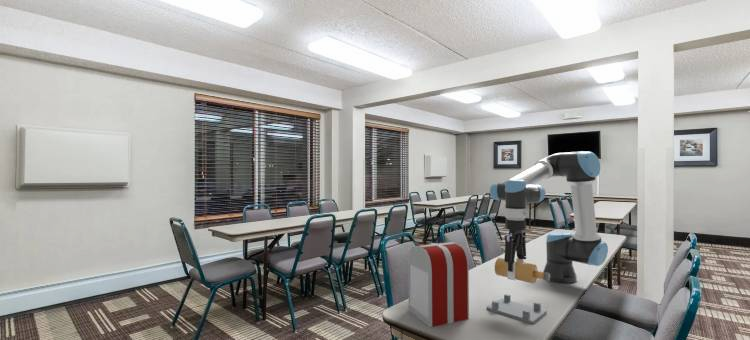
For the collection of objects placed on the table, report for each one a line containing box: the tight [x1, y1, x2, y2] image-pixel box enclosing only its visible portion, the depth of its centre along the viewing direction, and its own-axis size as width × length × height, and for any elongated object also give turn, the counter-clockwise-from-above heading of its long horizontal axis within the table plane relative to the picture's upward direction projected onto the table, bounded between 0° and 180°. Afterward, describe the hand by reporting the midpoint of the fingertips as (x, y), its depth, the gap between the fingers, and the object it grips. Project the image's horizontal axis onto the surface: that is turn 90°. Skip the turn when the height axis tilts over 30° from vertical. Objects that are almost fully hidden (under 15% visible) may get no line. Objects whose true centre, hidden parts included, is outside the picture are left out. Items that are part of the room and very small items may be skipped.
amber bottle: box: [494, 257, 551, 284], centre depth 129 cm, size 19×7×7 cm, turn 44°
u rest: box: [486, 293, 548, 325], centre depth 131 cm, size 18×13×4 cm
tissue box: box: [407, 241, 470, 328], centre depth 129 cm, size 16×18×27 cm
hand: (515, 277), depth 131 cm, fingers closed on amber bottle, 7 cm apart
